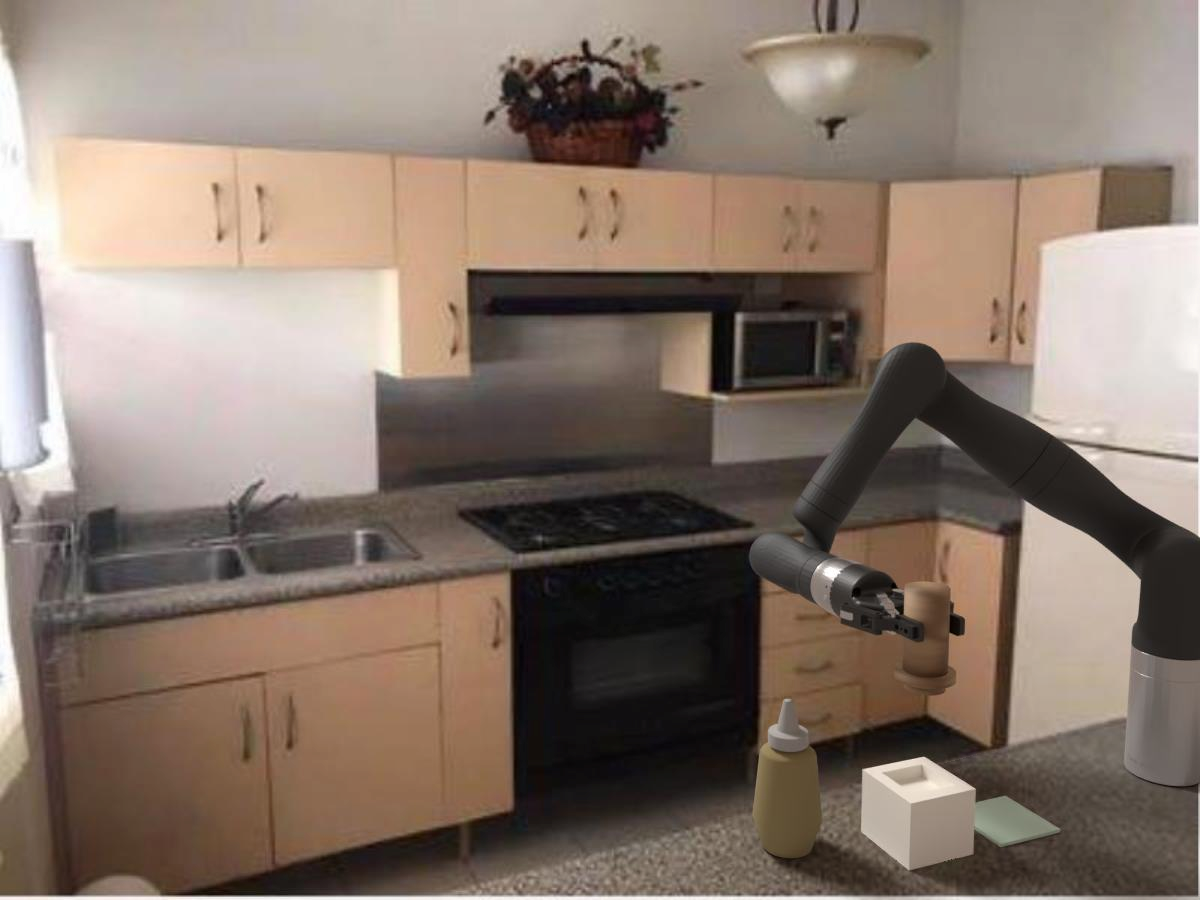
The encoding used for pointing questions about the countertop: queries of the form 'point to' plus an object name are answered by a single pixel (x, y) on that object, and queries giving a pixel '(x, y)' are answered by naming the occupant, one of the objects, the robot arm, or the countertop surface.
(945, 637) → the flanged wooden peg
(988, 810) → the mat
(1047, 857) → the countertop surface
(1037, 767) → the countertop surface
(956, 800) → the white socket block
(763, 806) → the squeeze bottle
